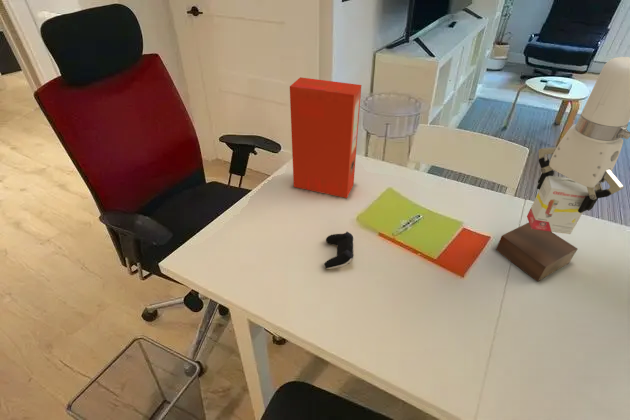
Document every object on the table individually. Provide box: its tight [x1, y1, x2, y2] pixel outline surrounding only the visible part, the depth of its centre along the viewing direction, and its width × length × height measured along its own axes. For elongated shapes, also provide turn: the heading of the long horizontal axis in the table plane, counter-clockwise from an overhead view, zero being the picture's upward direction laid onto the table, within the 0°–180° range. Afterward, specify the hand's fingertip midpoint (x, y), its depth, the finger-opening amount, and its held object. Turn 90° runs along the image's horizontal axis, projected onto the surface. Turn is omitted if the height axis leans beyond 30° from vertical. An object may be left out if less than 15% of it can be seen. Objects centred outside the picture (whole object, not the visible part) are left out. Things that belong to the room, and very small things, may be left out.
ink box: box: [526, 175, 589, 235], centre depth 83 cm, size 9×5×12 cm, turn 76°
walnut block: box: [495, 222, 578, 282], centre depth 92 cm, size 12×12×5 cm
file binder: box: [289, 77, 362, 199], centre depth 107 cm, size 8×17×32 cm, turn 70°
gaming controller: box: [323, 231, 355, 270], centre depth 92 cm, size 11×4×7 cm
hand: (561, 198), depth 82 cm, fingers closed on ink box, 9 cm apart
